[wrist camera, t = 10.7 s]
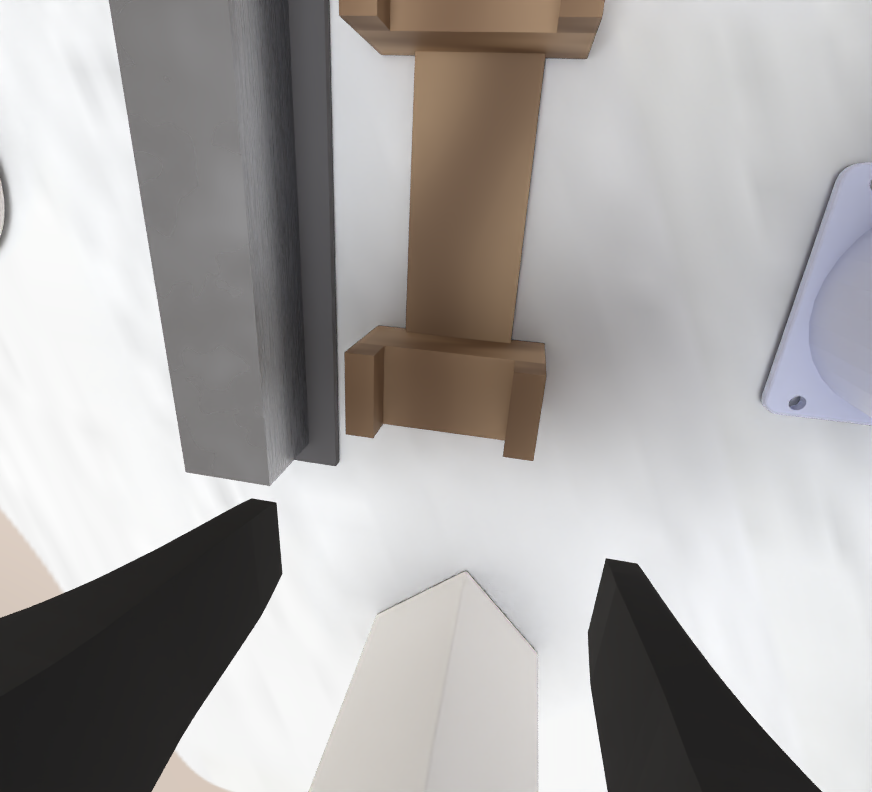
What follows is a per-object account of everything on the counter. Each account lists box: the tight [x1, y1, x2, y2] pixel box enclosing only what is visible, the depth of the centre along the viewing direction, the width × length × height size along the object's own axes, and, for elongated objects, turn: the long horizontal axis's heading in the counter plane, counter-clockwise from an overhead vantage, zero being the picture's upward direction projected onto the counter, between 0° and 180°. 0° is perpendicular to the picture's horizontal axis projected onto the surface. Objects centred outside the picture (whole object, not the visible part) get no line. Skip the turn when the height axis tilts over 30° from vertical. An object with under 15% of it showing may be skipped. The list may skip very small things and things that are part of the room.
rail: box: [109, 0, 309, 486], centre depth 16 cm, size 4×20×4 cm, turn 177°
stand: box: [339, 0, 605, 461], centre depth 15 cm, size 6×16×4 cm, turn 177°
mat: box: [288, 0, 339, 466], centre depth 18 cm, size 6×22×1 cm, turn 177°
